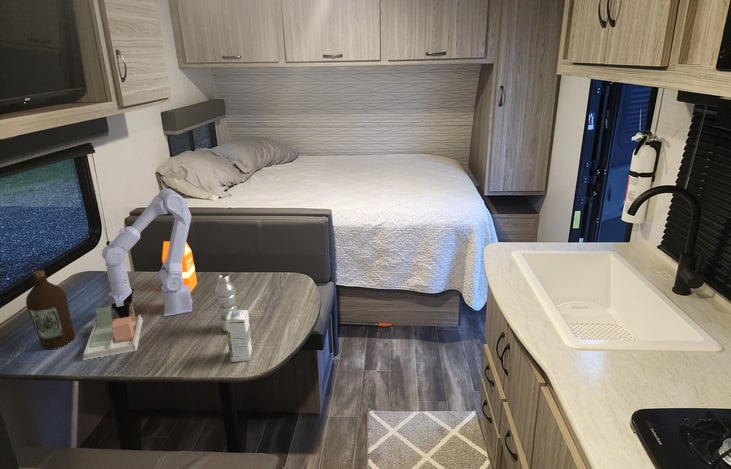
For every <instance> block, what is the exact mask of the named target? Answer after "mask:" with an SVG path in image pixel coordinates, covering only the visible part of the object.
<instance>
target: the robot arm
mask: <svg viewBox="0 0 731 469" xmlns="http://www.w3.org/2000/svg"><path fill="white" fill-rule="evenodd" d="M168 212H170V213H171V215H172V216H173V217H174V221H173V225H172V231H171V234H170V240H169V241H170V244H169V249H168V254H167V258H166V261H165V262H164V263H163V262H162V267H161V269H160V270H159V271H158V273H157V278H158V280H159V282H161V288H160V290H161V295H162V296H161V297H162V299H163V306H164V311H163V317H170V316H174V315H182V314H186V313H191V312H193V303H194V302H193V298H192V296H191V295H192V294H191V292H190V288H189V285H183V279H182V273H183V272H182V266H181V263H182V259H183V254H184V249H185V245H186V242H187V239H188V235H189V230H190V225H191V221H192V213H191V212H190V209H189V206H188V202H187V201H186V199H184V197H183V196H181V195H180V194H178V193H177V192H176V191H175V190H173V189H171V188H164V189H162V190H160V192H159V193H158V195H155V196H154V197H153V199H152V200H151V202H150V203H149V204H148V205H147V207H146V208H145V209H144V210H143V212H142V213H141V214H140V215H139V217H138V218H137V219H136V220H135V221H134V223H133V224H132V225H131V226H126V227H124V228H121V229H120V230H119V231H118V232H119V234H118V235H117V236H116V237H115V238H114V239H113V240H112V241H109V243H108V244H107V245H106V246H104V247H103V249H102V252H101V256H102V258H103V259H104V260H105V261H104V262H105V267H106V273H107V276H108V277H107V278H108V282H109V286H110V289H111V291H110V292H109V293H108V297H112V298H113V299H114V301H115V302H113V303H111V309H113V310H114V311H115V312H116V313H117V315H118V318H125V317H129V307H130V304H131V303H132V304H133V294H134V292H135V288H132V287H131V284H130V283H131V282H130V280H129V279H130V278H129V275H128V271H127V265H126V264H125V260H126V254H128V253H129V252H130V250H131V249H132V248H134V246H135V245H136V244H137V242H139V240H140V239H141V232H142V231H143V230H145V228H147V226H148V225H150V223H151V222H152V221H153V220H155V218H157V216H161V215H167V214H168Z"/></svg>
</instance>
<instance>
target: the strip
mask: <svg viewBox="0 0 731 469" xmlns="http://www.w3.org/2000/svg"><path fill="white" fill-rule="evenodd" d="M95 315H96V319H97V323H98V325H97V328H96V331H95V333H94V336H93V339H92V342H91V345H90V346H91V348H93V347H99V346H104V345H109V344H110V341H111V338H112V334H113V330H112V324H113V321H114V316H113V313H112V307H111V306H105V307H98V308H96V311H95Z"/></svg>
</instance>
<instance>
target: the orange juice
mask: <svg viewBox="0 0 731 469" xmlns="http://www.w3.org/2000/svg"><path fill="white" fill-rule="evenodd" d="M169 244H170V240H169V241H163V246H162V256H161V257H162V258H161V261H162V264H163V263H164V262H165V261H166V258H167V254H168V249H169ZM181 266H182V272H183V273H182V279H183V285H189V288H190V293H191V292H192V291H193V289H194V288H195V287H196V285H197V284H198V281H197V275H196V267H195V263H194V257H193V251H192V249H191V247H190V246H189V244H188V242H187V241H186V245H185V249H184V254H183V259H182V263H181Z"/></svg>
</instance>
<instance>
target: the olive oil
mask: <svg viewBox="0 0 731 469" xmlns="http://www.w3.org/2000/svg"><path fill="white" fill-rule="evenodd" d="M31 275H32V279H33V283H34V286H33V287H32V288H31V289H30V291H28V293H27V295H26V298H25V305H26V309H27V312H28V314H29V316H30V318H31V320H32V323H33V326H34V329H35V331H36V333H37V336H38V340H39V343H40V345H41V348H43V349H45V350H55V349H54V348H57V349H59V348H58V347H61V348H63V347H65V346H64V345H66V346H67V344H68V343H69V344H71V343H72V342H73V341H75V339H76V334H75V330H74V325H73V323H72V322H73V321H72V317H71V313H70V309H69V303H68V299H67V295H66V293H65V291H64V290H63V288H61V287H60V286H58V285H56V284H53V283H52V282H49V281H48V279H47V275H46V274H45V270H43V269H42V270H35V271H34V272H32V273H31ZM74 338H75V339H74ZM71 341H72V342H71ZM70 342H71V343H70ZM69 344H68V345H69ZM62 346H63V347H62Z"/></svg>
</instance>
